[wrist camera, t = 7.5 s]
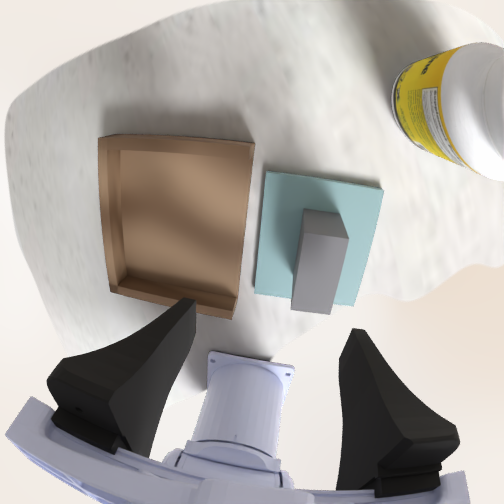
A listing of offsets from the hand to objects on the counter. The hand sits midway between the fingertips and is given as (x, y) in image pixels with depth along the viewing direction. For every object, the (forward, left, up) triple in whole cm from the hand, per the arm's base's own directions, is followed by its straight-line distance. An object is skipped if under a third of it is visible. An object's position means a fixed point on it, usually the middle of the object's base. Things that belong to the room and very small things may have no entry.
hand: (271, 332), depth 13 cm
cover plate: (+1, -2, -9) cm, 9 cm away
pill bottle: (+12, -8, -9) cm, 17 cm away
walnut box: (+1, +8, -9) cm, 12 cm away
